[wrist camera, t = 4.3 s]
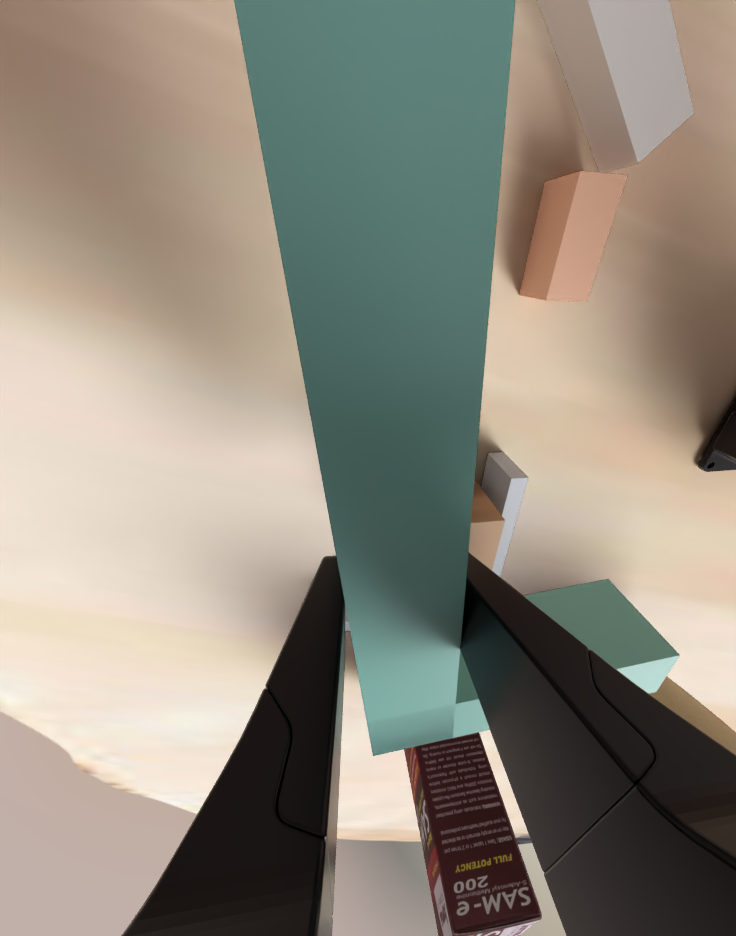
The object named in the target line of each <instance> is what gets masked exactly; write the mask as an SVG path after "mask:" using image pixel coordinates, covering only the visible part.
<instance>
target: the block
mask: <svg viewBox="0 0 736 936" xmlns="http://www.w3.org/2000/svg"><path fill="white" fill-rule="evenodd" d="M504 523H505V519H504V518H503V517H502V515H501V514H500V513H499V511H498V510H497V508H496V507H495V506H494V504H493V503H492V502H491V500H490V499H489V498H488V496H487V495H486V494H485V492H484V491H483V490H482V488H481V487H480V485H479V484H478V483H477V481H476V480H475V481H474V493H473V505H472V517H471V529H470V540H469V553H471V554H472V555H473V556H474V557H476V558H477V559H478V560H479V561H481V562H482V563H483V564H484V565H486V566H487V567H488V568H489V569H491V570H492V569H493V565H494V561H495V557H496V553H497V550H498V546H499V542H500V538H501V534H502V531H503V527H504Z"/></svg>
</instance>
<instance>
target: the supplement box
mask: <svg viewBox="0 0 736 936" xmlns="http://www.w3.org/2000/svg"><path fill="white" fill-rule="evenodd" d="M404 751H405V756H406V761H407V767H408V772H409V777H410V783H411V788H412V794H413V799H414V804H415V810H416V815H417V820H418V826H419V830H420V837H421V841H422V846H423V852H424V859H425V863H426V869H427V874H428V879H429V885H430V890H431V896H432V902H433V907H434V913H435V918H436V924H437V929H438V935H439V936H520V935H521V934H522V933H523V932H524V931H526V929H528V928H529V927H530V926H531V925H532V924H533V923H535V922H537V921H539V920H540V919H541V918H542V914H541V911H540V908H539V905H538V901H537V899H536V896H535V893H534V890H533V887H532V884H531V881H530V879H529V876H528V873H527V870H526V867H525V864H524V861H523V859H522V856H521V853H520V850H519V847H518V844H517V841H516V838H515V835H514V832H513V829H512V826H511V823H510V820H509V818H508V815H507V812H506V809H505V806H504V803H503V800H502V797H501V794H500V792H499V789H498V786H497V783H496V780H495V778H494V775H493V772H492V769H491V766H490V763H489V760H488V757H487V754H486V752H485V749H484V746H483V743H482V740H481V737H480V734H479V732H477V733H473V734H468V735H464V736H459V737H455V738H450V739H446V740H442V741H437V742H433V743H428V744H424V745H419V746H415V747H411V748H406V749H404Z"/></svg>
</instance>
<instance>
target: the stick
mask: <svg viewBox="0 0 736 936" xmlns="http://www.w3.org/2000/svg"><path fill="white" fill-rule="evenodd" d="M537 2H538V5H539V8H540V10H541V13H542V16H543V19H544V21H545V24H546V27H547V30H548V32H549V35H550V38H551V41H552V43H553V46H554V49H555V52H556V54H557V57H558V60H559V63H560V65H561V68H562V71H563V74H564V77H565V79H566V82H567V85H568V88H569V90H570V93H571V96H572V99H573V101H574V104H575V107H576V110H577V112H578V115H579V118H580V121H581V123H582V126H583V129H584V132H585V134H586V137H587V140H588V143H589V145H590V148H591V151H592V154H593V156H594V159H595V162H596V165H597V167H598V170H599V172H600V173H606V172H609V171H613V170H616V169H620V168H624V167H627V166H631V165H634V164H638V163H639V162H640V161H641V160H642V159H644V158H645V157H646V156H647V155H648V154H649V153H650V152H651V151H652V150H654V149H655V148H656V147H657V146H658V145H659V144H660V143H661V142H662V141H664V140H665V139H666V138H667V137H668V136H669V135H670V134H671V133H672V132H674V131H675V130H676V129H677V128H678V127H679V126H680V125H681V124H682V123H684V122H685V121H686V120H687V119H688V118H689V117H690V116H691V115H692V114H694V111H693V106H692V102H691V97H690V93H689V88H688V84H687V79H686V75H685V70H684V65H683V61H682V56H681V52H680V47H679V43H678V38H677V34H676V29H675V25H674V20H673V16H672V11H671V7H670V2H669V0H537Z"/></svg>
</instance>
